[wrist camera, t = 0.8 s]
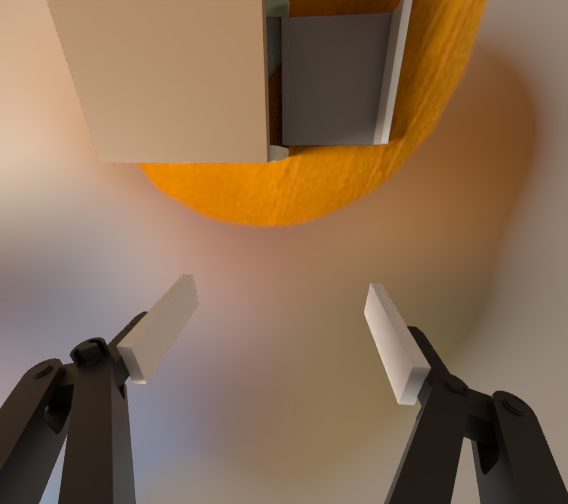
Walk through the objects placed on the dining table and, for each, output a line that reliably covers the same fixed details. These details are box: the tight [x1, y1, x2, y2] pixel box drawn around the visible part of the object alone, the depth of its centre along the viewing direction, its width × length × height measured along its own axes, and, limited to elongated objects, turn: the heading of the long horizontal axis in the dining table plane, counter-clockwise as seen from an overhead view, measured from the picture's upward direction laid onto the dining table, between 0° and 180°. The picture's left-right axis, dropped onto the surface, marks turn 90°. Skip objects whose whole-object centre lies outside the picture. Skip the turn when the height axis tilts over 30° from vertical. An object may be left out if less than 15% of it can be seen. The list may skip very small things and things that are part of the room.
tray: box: [281, 0, 412, 145], centre depth 29 cm, size 15×14×4 cm
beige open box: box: [47, 0, 289, 163], centre depth 23 cm, size 18×14×21 cm
